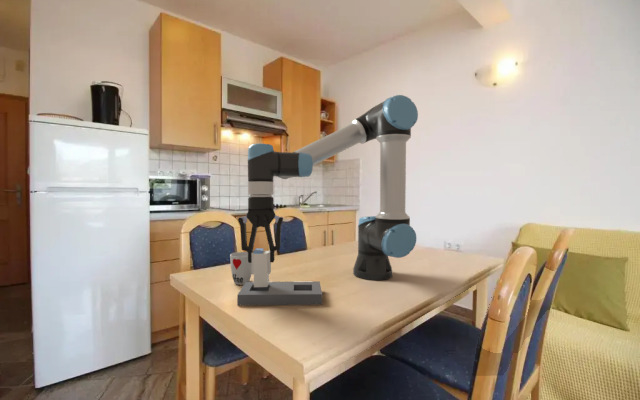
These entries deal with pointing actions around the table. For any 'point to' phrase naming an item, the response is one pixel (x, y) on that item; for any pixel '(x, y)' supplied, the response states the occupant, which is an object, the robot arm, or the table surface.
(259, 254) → the plug
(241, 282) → the cup
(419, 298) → the table surface
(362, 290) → the table surface
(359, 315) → the table surface
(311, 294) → the panel
